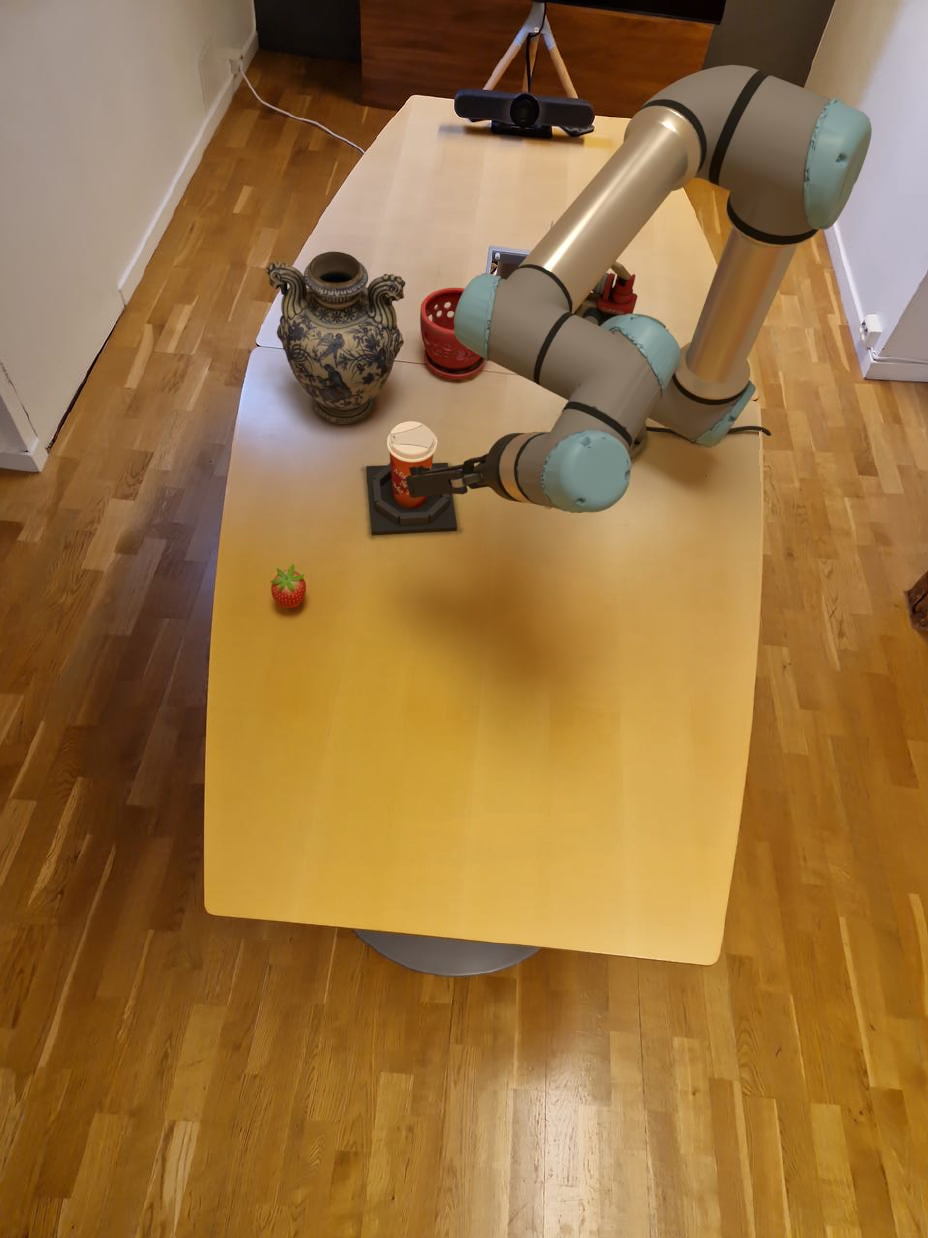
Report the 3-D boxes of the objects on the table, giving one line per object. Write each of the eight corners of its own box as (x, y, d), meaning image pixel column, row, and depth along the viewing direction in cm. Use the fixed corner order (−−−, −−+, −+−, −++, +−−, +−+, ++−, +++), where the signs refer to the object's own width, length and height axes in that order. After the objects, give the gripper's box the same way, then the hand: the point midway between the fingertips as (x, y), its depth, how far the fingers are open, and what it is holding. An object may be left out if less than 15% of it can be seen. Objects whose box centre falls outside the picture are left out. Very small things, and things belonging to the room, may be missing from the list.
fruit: (310, 615, 124) (305, 587, 117) (275, 619, 123) (268, 591, 116) (307, 586, 127) (302, 556, 120) (273, 590, 126) (266, 560, 119)
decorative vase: (406, 371, 153) (409, 234, 129) (399, 445, 143) (401, 312, 119) (292, 362, 152) (273, 222, 128) (277, 436, 142) (253, 300, 118)
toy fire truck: (560, 294, 167) (576, 213, 152) (632, 316, 166) (656, 236, 150) (543, 328, 162) (559, 248, 146) (618, 351, 160) (642, 272, 145)
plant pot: (500, 356, 157) (507, 303, 146) (463, 395, 150) (468, 343, 140) (443, 328, 159) (446, 274, 149) (405, 365, 153) (405, 312, 143)
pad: (447, 466, 141) (448, 454, 139) (456, 530, 134) (458, 519, 132) (366, 469, 140) (365, 457, 137) (371, 535, 133) (371, 524, 130)
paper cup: (390, 516, 134) (390, 458, 122) (384, 480, 137) (383, 420, 125) (437, 511, 135) (442, 453, 123) (429, 476, 139) (433, 416, 127)
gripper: (432, 535, 86) (381, 517, 105) (633, 469, 93) (550, 464, 112) (413, 466, 84) (365, 460, 103) (621, 403, 90) (538, 409, 110)
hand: (461, 462), depth 108 cm, fingers open, 13 cm apart
